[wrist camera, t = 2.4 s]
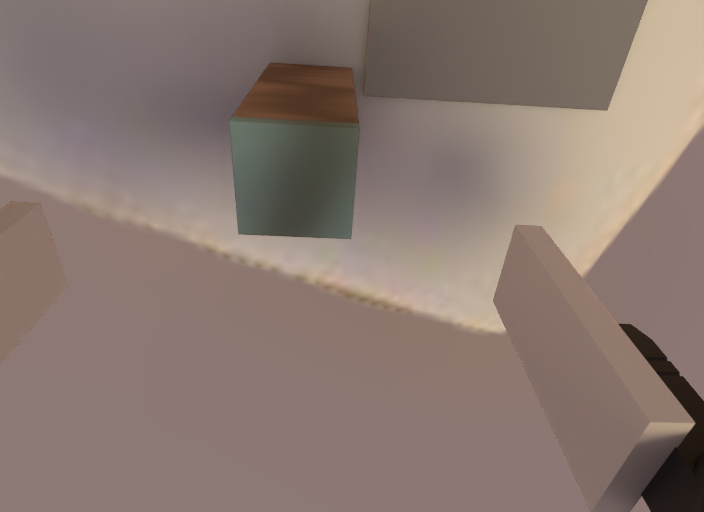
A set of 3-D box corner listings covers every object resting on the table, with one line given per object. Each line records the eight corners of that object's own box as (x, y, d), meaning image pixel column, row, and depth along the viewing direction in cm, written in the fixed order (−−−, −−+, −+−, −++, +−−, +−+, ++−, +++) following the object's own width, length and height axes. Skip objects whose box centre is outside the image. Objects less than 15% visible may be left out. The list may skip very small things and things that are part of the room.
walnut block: (272, 142, 27) (238, 234, 18) (269, 62, 25) (228, 121, 15) (346, 146, 27) (351, 239, 18) (351, 68, 25) (359, 128, 16)
